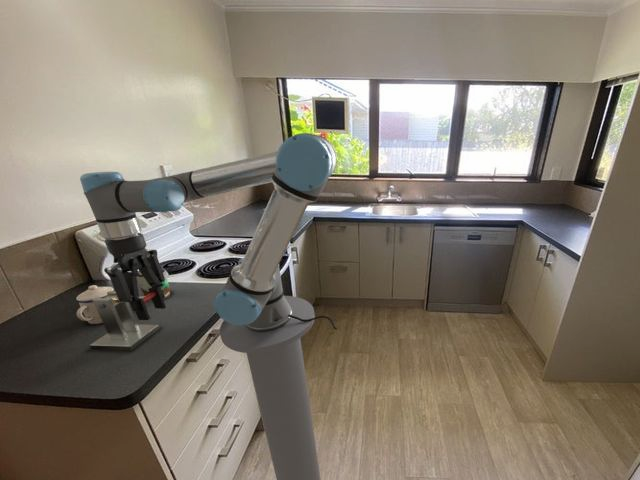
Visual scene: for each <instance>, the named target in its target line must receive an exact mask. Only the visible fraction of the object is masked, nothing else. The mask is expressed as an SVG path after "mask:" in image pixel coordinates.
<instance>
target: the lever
mask: <svg viewBox="0 0 640 480" xmlns="http://www.w3.org/2000/svg"><path fill="white" fill-rule="evenodd" d="M156 295H157V294H156V293H155V292H151V293H150V294H148V295H147V296H144V295H143V296H140V295H139V298H143V301H144V303H145V304H146V303H147V302H150V300H152V298H153V297H155V296H156ZM105 298H111V299H112V302H113V304H114V306H116V305H117V304H119V303H124V302H120V301H119V299H118V297H117V295H112V296H107V297H105Z"/></svg>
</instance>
